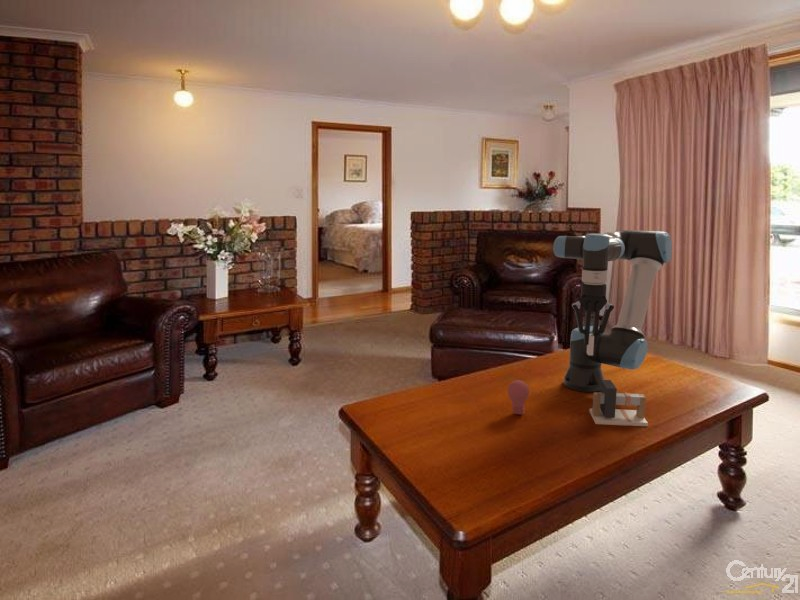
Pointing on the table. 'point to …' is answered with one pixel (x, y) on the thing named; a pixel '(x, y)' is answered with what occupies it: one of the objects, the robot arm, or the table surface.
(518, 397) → the light bulb
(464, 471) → the table surface
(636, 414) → the pipe rig
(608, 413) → the dark grey block
